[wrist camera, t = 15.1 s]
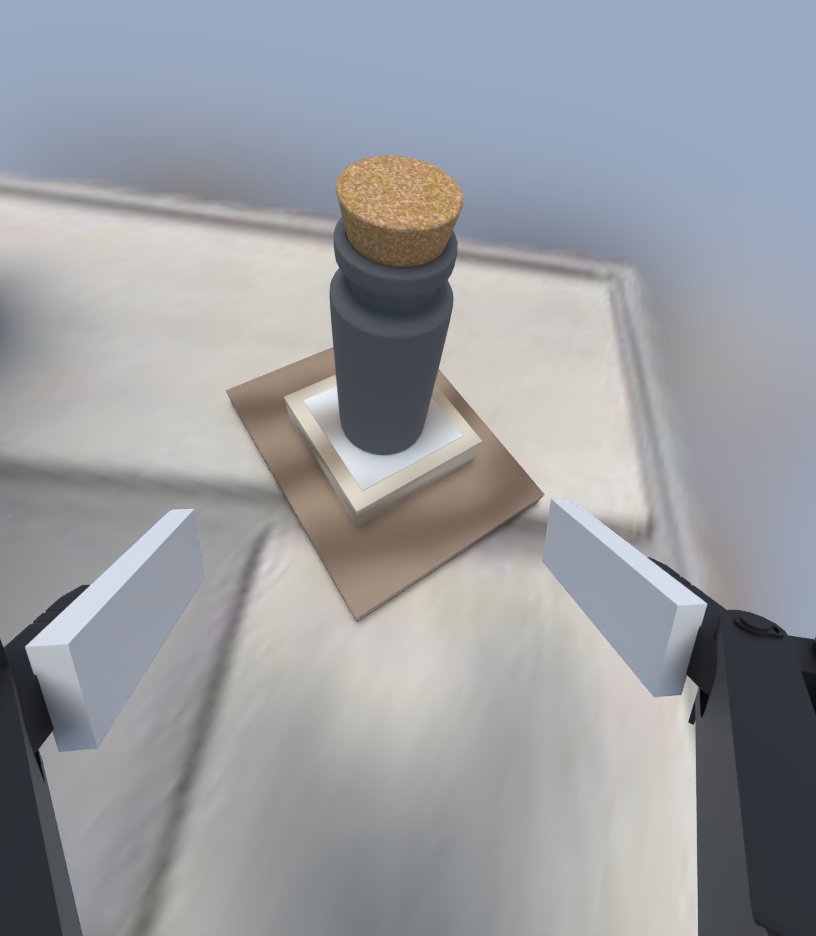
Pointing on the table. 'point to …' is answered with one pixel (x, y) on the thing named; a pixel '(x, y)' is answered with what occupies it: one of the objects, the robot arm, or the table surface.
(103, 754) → the table surface
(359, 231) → the bottle
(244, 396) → the plinth
